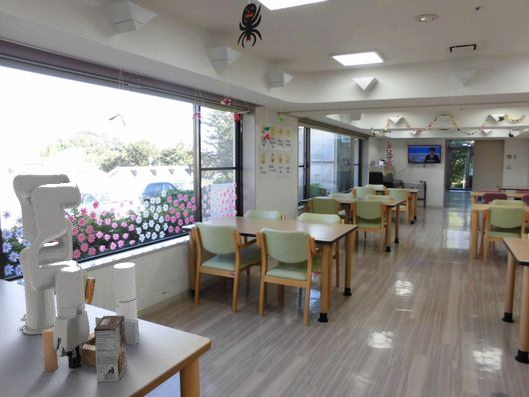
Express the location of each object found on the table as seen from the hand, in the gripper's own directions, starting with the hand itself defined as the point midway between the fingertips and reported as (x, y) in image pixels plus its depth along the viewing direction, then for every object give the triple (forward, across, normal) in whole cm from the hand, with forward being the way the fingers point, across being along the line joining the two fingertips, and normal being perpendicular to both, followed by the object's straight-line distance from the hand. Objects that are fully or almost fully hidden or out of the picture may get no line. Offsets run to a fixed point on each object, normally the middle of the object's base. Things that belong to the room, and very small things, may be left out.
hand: (75, 367), depth 119 cm
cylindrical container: (+1, -27, -1) cm, 27 cm away
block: (+1, -9, 0) cm, 9 cm away
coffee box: (+1, -2, +12) cm, 12 cm away
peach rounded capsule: (+1, +1, -8) cm, 8 cm away
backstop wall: (+1, -20, 0) cm, 20 cm away
